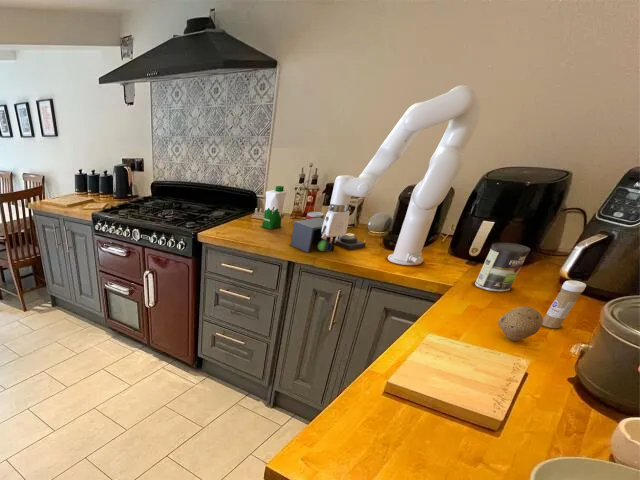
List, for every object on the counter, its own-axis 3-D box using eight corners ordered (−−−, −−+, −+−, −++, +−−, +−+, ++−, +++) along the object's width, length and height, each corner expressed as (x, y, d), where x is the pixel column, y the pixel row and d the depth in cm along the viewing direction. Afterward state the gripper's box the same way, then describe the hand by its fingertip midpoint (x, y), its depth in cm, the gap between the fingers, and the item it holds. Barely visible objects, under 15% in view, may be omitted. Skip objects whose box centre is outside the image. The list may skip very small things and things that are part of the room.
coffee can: (517, 289, 145) (538, 249, 136) (494, 293, 143) (514, 253, 135) (489, 279, 153) (507, 240, 145) (467, 283, 151) (484, 244, 143)
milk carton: (283, 227, 223) (289, 187, 212) (270, 230, 220) (276, 189, 208) (271, 223, 230) (277, 184, 218) (259, 226, 226) (264, 187, 215)
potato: (484, 336, 120) (500, 304, 114) (503, 329, 123) (520, 298, 117) (519, 350, 113) (538, 317, 108) (538, 342, 116) (558, 310, 110)
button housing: (364, 247, 189) (366, 239, 187) (348, 249, 187) (350, 242, 185) (345, 240, 199) (347, 233, 197) (330, 243, 197) (332, 235, 195)
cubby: (333, 248, 191) (339, 223, 184) (307, 252, 187) (312, 227, 181) (314, 240, 201) (319, 217, 194) (290, 245, 198) (294, 221, 191)
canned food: (316, 233, 210) (321, 211, 203) (321, 238, 203) (326, 215, 197) (301, 234, 211) (305, 211, 204) (305, 238, 204) (309, 215, 198)
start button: (355, 238, 190) (356, 234, 189) (348, 240, 189) (349, 236, 188) (349, 236, 193) (350, 232, 192) (342, 237, 192) (343, 234, 191)
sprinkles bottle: (536, 322, 125) (560, 280, 117) (550, 321, 125) (575, 279, 117) (550, 329, 121) (576, 286, 113) (564, 328, 121) (591, 285, 114)
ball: (332, 247, 184) (329, 236, 185) (322, 249, 184) (318, 239, 185) (327, 251, 189) (324, 241, 190) (317, 254, 189) (314, 244, 190)
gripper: (330, 211, 169) (320, 256, 180) (359, 207, 173) (348, 250, 183) (318, 208, 175) (309, 251, 186) (346, 204, 178) (336, 246, 189)
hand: (328, 251), depth 184 cm, fingers closed
